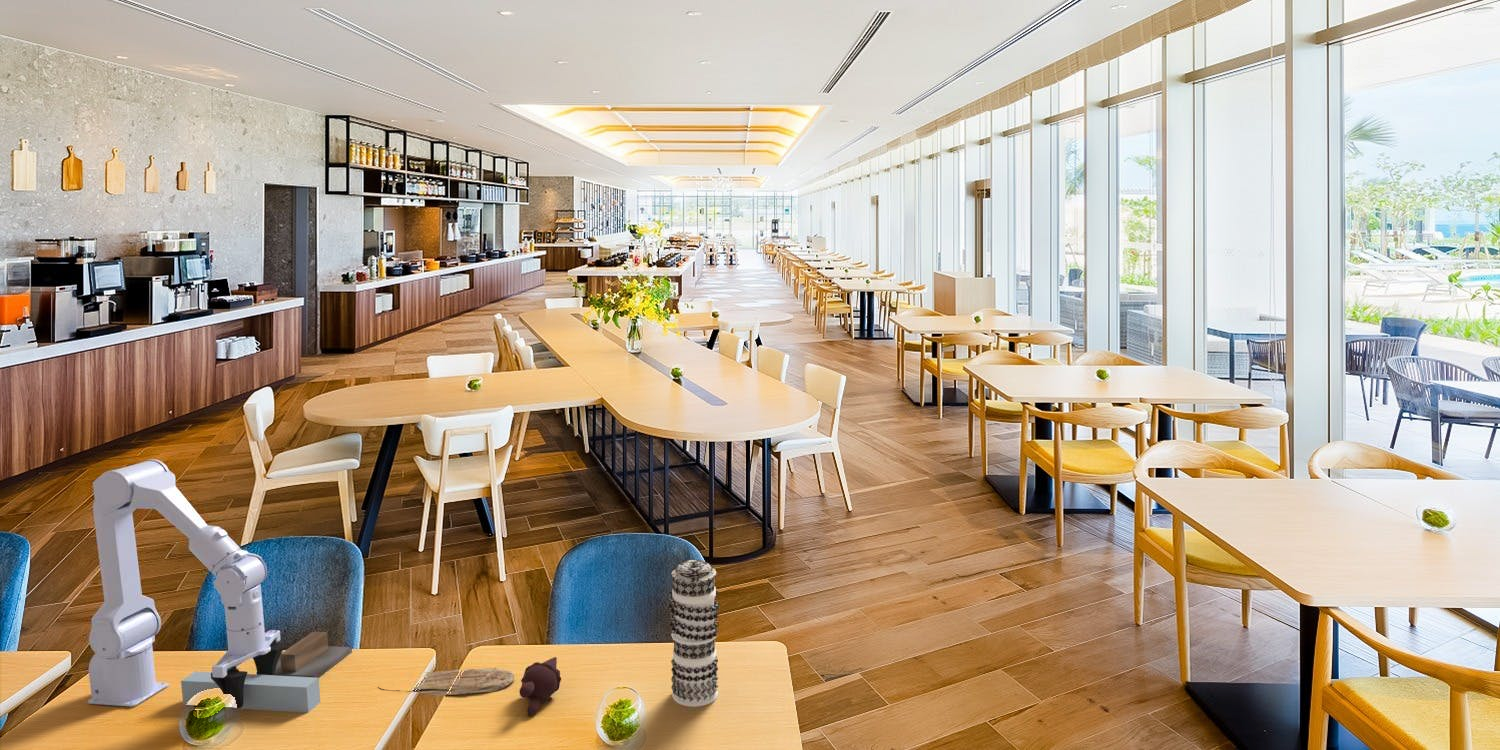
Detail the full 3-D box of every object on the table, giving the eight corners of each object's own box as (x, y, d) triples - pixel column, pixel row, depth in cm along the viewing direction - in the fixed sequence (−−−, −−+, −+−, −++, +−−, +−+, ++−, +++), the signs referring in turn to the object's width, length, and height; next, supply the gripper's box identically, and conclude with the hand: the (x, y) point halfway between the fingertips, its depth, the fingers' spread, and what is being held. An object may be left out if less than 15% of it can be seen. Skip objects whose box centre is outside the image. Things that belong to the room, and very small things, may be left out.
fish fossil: (366, 701, 152) (366, 695, 152) (385, 678, 162) (384, 672, 162) (511, 690, 155) (511, 684, 155) (520, 668, 165) (520, 663, 165)
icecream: (532, 645, 160) (499, 690, 145) (567, 638, 158) (538, 683, 144) (543, 676, 161) (512, 725, 147) (578, 670, 160) (550, 718, 145)
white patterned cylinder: (669, 683, 158) (667, 556, 154) (718, 681, 159) (717, 554, 155) (669, 709, 149) (667, 574, 145) (721, 706, 150) (720, 573, 146)
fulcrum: (256, 677, 160) (254, 655, 160) (297, 648, 172) (296, 628, 171) (314, 681, 159) (312, 658, 158) (352, 652, 171) (350, 631, 170)
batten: (183, 706, 150) (180, 680, 150) (198, 696, 154) (195, 671, 153) (308, 713, 148) (306, 687, 147) (320, 703, 151) (318, 677, 151)
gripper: (236, 643, 141) (242, 718, 143) (292, 608, 155) (298, 677, 157) (198, 641, 142) (205, 716, 144) (258, 607, 156) (264, 675, 158)
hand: (251, 695), depth 150 cm, fingers open, 7 cm apart
